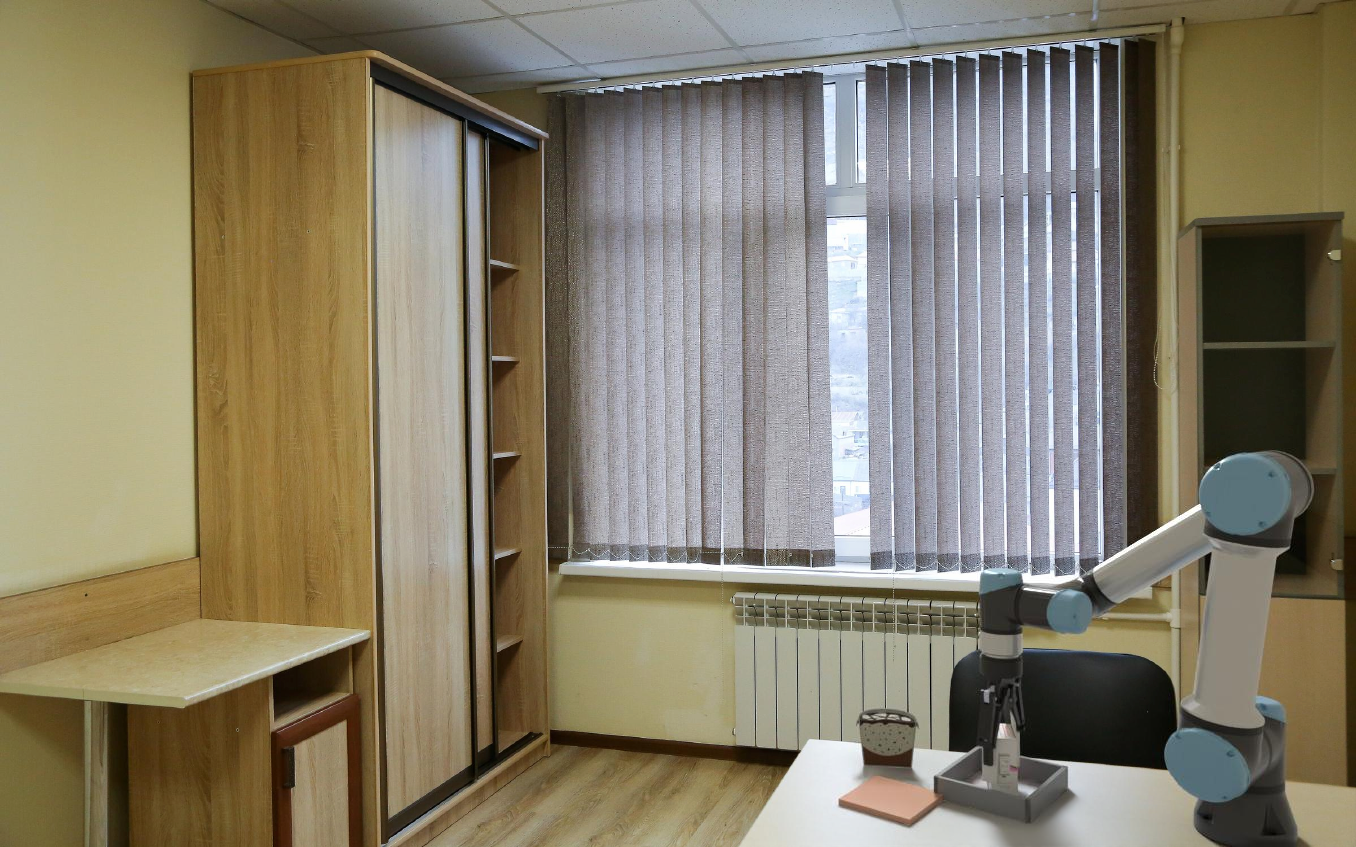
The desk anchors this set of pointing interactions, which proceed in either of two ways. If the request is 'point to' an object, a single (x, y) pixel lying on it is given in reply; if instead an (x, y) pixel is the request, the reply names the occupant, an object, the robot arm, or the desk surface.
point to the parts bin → (998, 801)
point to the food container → (887, 737)
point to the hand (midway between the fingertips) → (1001, 772)
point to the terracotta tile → (891, 799)
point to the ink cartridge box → (1007, 759)
